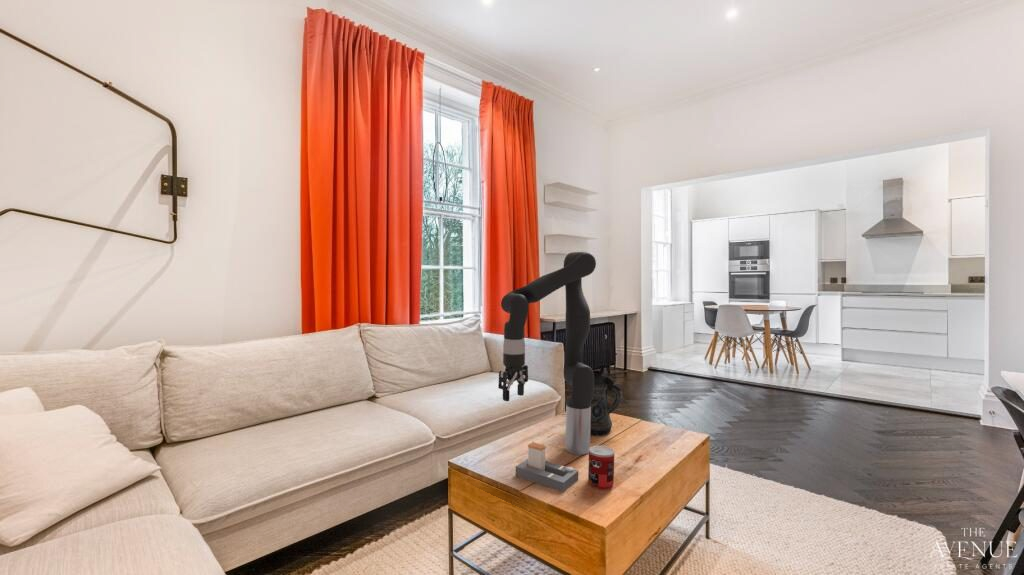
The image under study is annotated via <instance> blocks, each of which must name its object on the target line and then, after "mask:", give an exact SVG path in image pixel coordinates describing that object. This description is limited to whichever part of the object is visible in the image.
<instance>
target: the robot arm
mask: <svg viewBox="0 0 1024 575" xmlns="http://www.w3.org/2000/svg"><path fill="white" fill-rule="evenodd" d="M596 260H597V259H596V257H595V256H594V255H593V253H590V252H588V251H575V252H574V251H572V252H569V253H568V254H567V255H566V256H565V257H564V260H563V267H561V268H560V269H558V270H555V271H552V272H549V273H546V274H544V275H542V276H540V277H538V278H536V279H534V280H533V281H531V282H529V283H528V284H526V285H524V286H522V287H519V288H516V289H514V290H512V291H510V292H508V293H506V294H505V295H504V296H503V297H502V299H501V301H500V306H501V309H502V310H503V311H504V312H505V313H508V314H509V319H508V321H505V323H504V328H503V343H502V344H503V346H502V347H503V348H502V350H503V352H502V364H503V366H504V367H505V369H504V371H503V370H499V372H498V389H499V390H501V391H502V401H503V402H510V389H511V387H512V386H513V384H514V382H517V390H516V391H517V392H516V393H517V395H518V396H521V397H522V396H524V394H525V385H526V383H527V382H529V366H528V365H526V342H525V327H526V326H525V325H526V322H527V319H528V315H529V310H530V309H529V308H530V307H529V306H530V305H529V304H535V303H537V302H539V301H541V300H543V299H544V298H546V297H547V296H549V295H550V294H551V295H552V293H554V292H555V291H557V290H559V289H561V288H562V287H565V352H564V353H565V354H564V362H563V378H564V380H565V382H566V383H567V384H568V385H571V386H572V387H571V395H569V396H567V397H566V401H565V402H566V407H565V409H566V410H565V448H564V449H565V451H566V452H567V453H569V454H571V455H578V456H583V455H587V454H589V448H590V447H591V435H590V429H591V401H592V399H593V393H594V373H593V371H594V370H593V369H592V368H591V367H590V366H589V365H587V364H585V363H584V361H583V360H584V359H583V357H584V356H583V355H584V354H583V351H584V346H585V343H586V340H587V338H588V335H589V333H590V330H591V310H590V306H589V304H588V302H587V299H586V297H585V295H584V292H583V285H582V281H583V280H582V278H585V277H588V276H590V275H591V274H592V273H593V272H594V271H595V270H596V267H597V261H596Z"/></svg>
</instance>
